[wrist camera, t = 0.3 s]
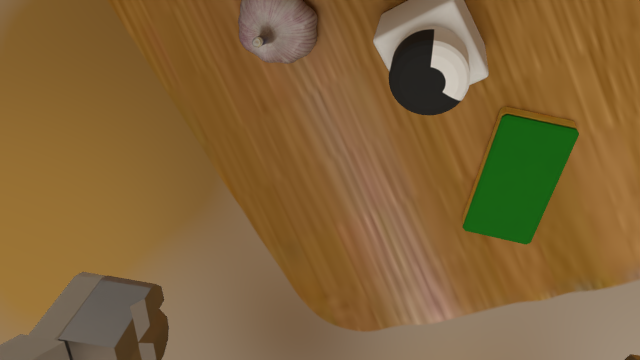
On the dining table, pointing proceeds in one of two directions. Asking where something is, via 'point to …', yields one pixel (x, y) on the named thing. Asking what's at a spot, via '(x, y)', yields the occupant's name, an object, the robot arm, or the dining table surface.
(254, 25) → the garlic bulb
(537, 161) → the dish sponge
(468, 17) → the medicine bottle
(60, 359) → the robot arm
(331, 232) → the dining table surface
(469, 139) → the dining table surface
